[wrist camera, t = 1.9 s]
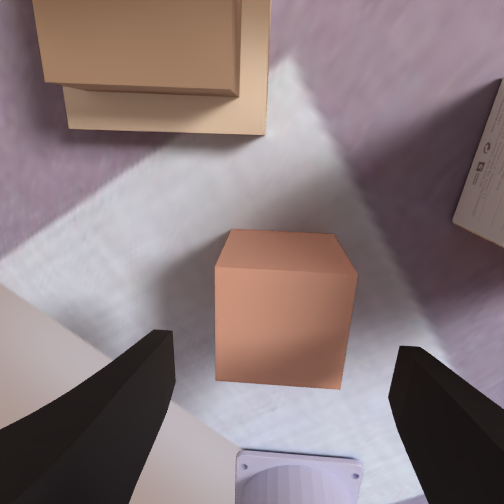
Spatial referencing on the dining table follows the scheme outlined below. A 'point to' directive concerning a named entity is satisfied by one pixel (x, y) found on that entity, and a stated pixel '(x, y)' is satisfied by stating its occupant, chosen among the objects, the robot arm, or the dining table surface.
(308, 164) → the dining table surface
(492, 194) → the small box
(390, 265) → the dining table surface
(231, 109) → the birch base slab
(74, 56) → the walnut top slab
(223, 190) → the dining table surface
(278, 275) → the terracotta cube
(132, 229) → the dining table surface
